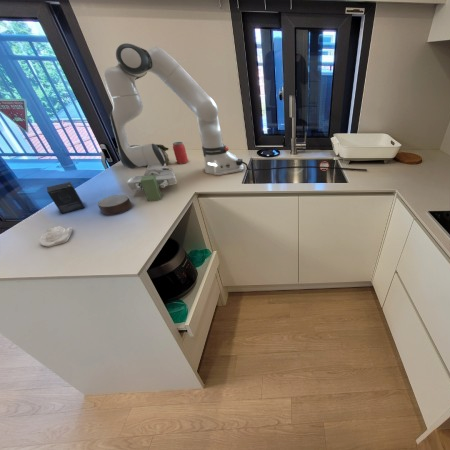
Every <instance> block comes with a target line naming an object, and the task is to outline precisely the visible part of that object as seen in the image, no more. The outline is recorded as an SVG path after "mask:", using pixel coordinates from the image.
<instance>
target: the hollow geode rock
mask: <svg viewBox="0 0 450 450" xmlns="http://www.w3.org/2000/svg"><path fill="white" fill-rule="evenodd" d="M154 144H155V143H154ZM155 145H157V146H158V147H159V148H161V150H162V151H163V153H164V156H165V160H166V161H165V164H166V165H168V164H169V163H170V158H169V155H168V153H167V152H166V151H169V150H170V148H169V147H166V146H165V145H163V144H157V143H156V144H155ZM129 146H130V147H135V146H141V145H140V144H139V145H137V144H135V145H129ZM114 150H115V153H119V150H118V147H115V148H114Z"/></svg>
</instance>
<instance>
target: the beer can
mask: <svg viewBox="0 0 450 450" xmlns="http://www.w3.org/2000/svg"><path fill="white" fill-rule="evenodd" d="M172 150H173V152H174V156H175V160H176V163H177V164H181V165H183V164H187V163H188V162H189V158H188V155H187V151H186V147H185V144H184V143H183V142H182V141H176V142H173V143H172Z"/></svg>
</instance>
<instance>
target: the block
mask: <svg viewBox="0 0 450 450" xmlns="http://www.w3.org/2000/svg"><path fill="white" fill-rule="evenodd" d="M142 176H143V177H142V179H141V183H142V186H143V188H142V189H143V191H144V193H145V196H146V199H147V201H148V202H152V201H158V200H161V199H162V196H163V195H162V192H161V188H160V186H158V183H157V180H156V177H155V175H152V176H144V175H142Z"/></svg>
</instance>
